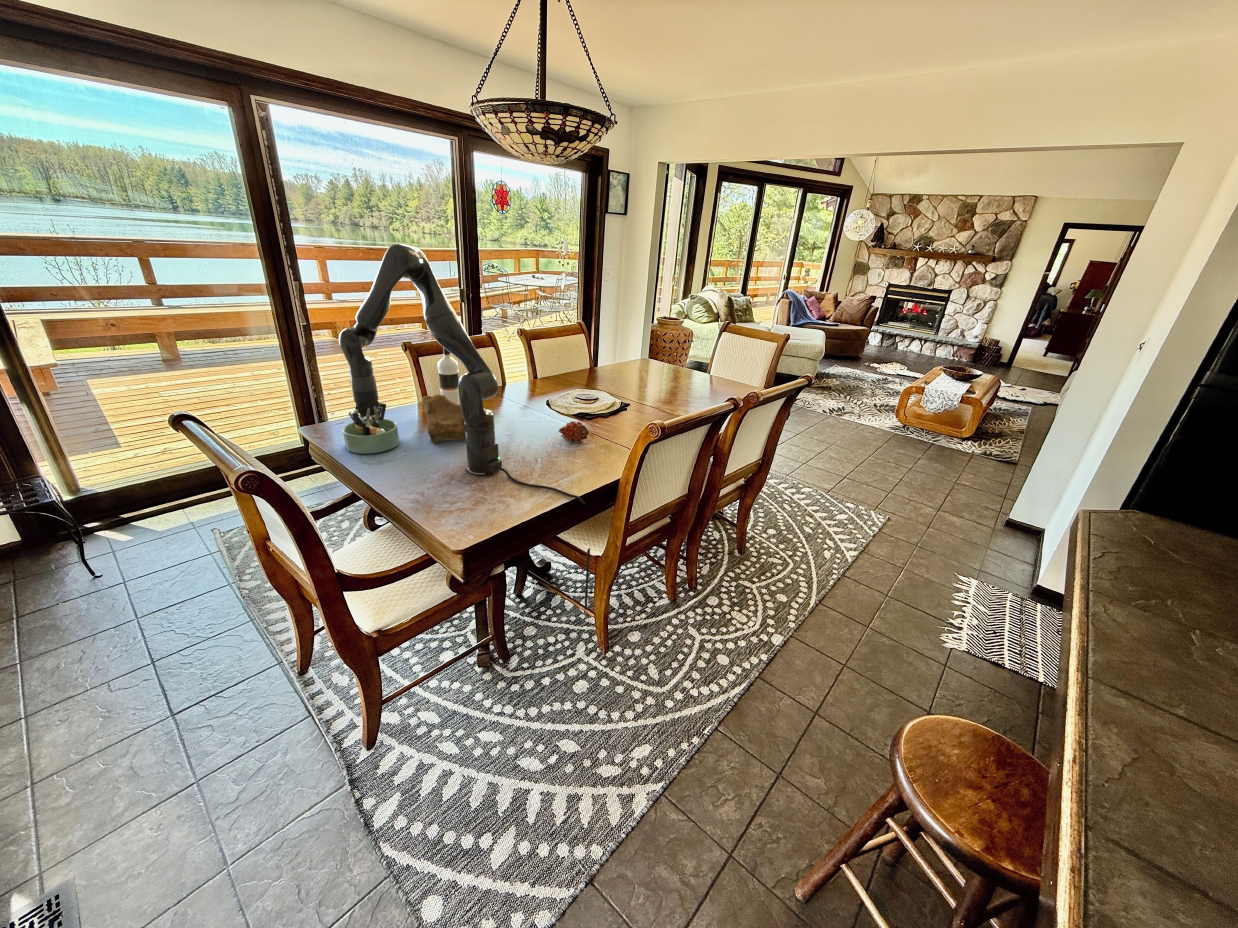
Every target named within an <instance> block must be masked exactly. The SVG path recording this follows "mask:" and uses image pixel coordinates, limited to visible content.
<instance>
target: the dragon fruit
mask: <svg viewBox="0 0 1238 928" xmlns="http://www.w3.org/2000/svg"><path fill="white" fill-rule="evenodd" d="M558 433H560V434H561V435H560V436H561V437H562V439H564V440H565V439H567V440H568V441H570V443H571V444H572V443H575V441H576V443H580V442H581V441H584V440H586V439H588V435H589V430H588V428H587V426H585V425H584V424H583V423H582V422H581V421H569V422H567V423H566V425H564V426H562V427H561V428H559V429H558Z"/></svg>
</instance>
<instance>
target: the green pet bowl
mask: <svg viewBox="0 0 1238 928" xmlns="http://www.w3.org/2000/svg"><path fill="white" fill-rule="evenodd" d="M369 423H370V426H372V423H373V422H372V420H371V418H370V420H369ZM372 427H373V426H372ZM379 427H380V429H384V430H385V433H382V434H377V435H369V436H365V435H364V434H363V433H361V432H359V431H358V430H357V429H356V424H355V423H354V421H353V422H352V421H351V422H350V423H348V424H346V425H344V427H342V434H343V435H342V436H343V440H344V445H345V448H346V450H347V451H349V452H351V453H354V454H362V455H363V454H365V455H366V454H368V455H369V454H378V453H383V452H386V451H389V450H391V449H394V448H395V447H397V446H398V445H399V444H400V435H399V428H398V424H397V422H396V421H394V420H392V419H389V418H388V419H387V418H384V419H383V420H381V421H380V423H379Z"/></svg>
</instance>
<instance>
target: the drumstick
mask: <svg viewBox="0 0 1238 928" xmlns="http://www.w3.org/2000/svg"><path fill="white" fill-rule="evenodd" d="M369 427H370V434H371V435H377V434H382V433H385V430H384V429H379V428H376V427H372V426H370V423H369ZM356 429H357V430H358V431H359V432H361V433H363V428H362V427H360V426H357V425H356Z"/></svg>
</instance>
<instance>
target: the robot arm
mask: <svg viewBox="0 0 1238 928" xmlns="http://www.w3.org/2000/svg"><path fill="white" fill-rule="evenodd" d="M401 279H408V280H410V281H411V282H412V284H413V286H414V287H415V289H416V290H417V292H418V294H419V296H420V299H421V302H422V313H423V319H424V322H425V324H426V327H427V328H428V329H429V331H430V333H431V335H432V336H433V338H434V340H435V342H437V343H438V345H440V346H441V347H442V348H443V347H444V348H445V349H446V350H447V351H449V352H450V354H452V355H453V356H454V357H456V359H458V360H459V361H460V363H462V365H463V366H464V367H465V369H466V370H467V373H464V374H462V375H461V376H459V381H458V394H459V400H460V408H461V412H462V415H463V417H464V424H465V436H466V441H465V446H466V459H467V472H468V473H469V474H471V475H474V476H486V477H489V476H490V475H492V474H494V473H496V472H497V471H499V470H500V471H502V472H503V473H504V474H505V475H506V476H507V478H509V480H511V481H512V482H513V483H516V484H518V485H521V486H525V487H529V488H536V489H546V490H550V491H553V492H556V493H559V494H562V495H564V496H566V497H569V498H574V499H577V500H578V501H579V502H580V503H581V504H582V505H586V502H585V501H584V500H583V498H582V497H580V496H579V495H577V494H572V493H568V492H566V491H564V490H561V489H558V488H556V487H552V486H549V485H548V486H547V485H542V484H541V485H540V484H533V483H528V482H524V481H521V480H518V479H516V478H514V477H513V476H512V475H510V473H509V471H507V470H506V469H505V468H504V467H503V460H502V459H500V455H499V443H498V442H496V429H495V428H496V427H495V426H496V425H495V414H494V412H493V410H490V409H487V408H485V407H484V401H486V400H489V399H492V398H494V397H496V396H497V394H498V392H499V384H498V380H497V378H496V377H495V374H494V373H493V371H492V370H491V368H490V367H489V366H488V364H487V362H486V361H485V360H484V359H483V357H482V356H481V354H480V353H479V351H478V350H477V348H476V347H475V345H474V343H473V341H472V340H471V339H470V337H469V335H468V333H467V331H466V330H465V328H464V325H463V324H462V322H461V320H460V318H459V317H458V315H457V314H456V312H455V310H454V309H453V307H452V305H451V304H450V301H448V299H447V297H446V295H445V292H444V291H443V289H442V288H441V286H440V284H439V282H438V280H437V277H436V275H435V273H434V271H433V269H432V266H431V264H430V262H429V260H428V258H427V256H426V255H425V254H424V252H423V251H422V250H420V249H419V248H417V247H415V246H410V245H406V244H402V243H394V244H391V245H390V246H389V247H388V248H387V250H386V251H385V253H384V255H383V258H382V260H381V262H380V265H379V269H378V270H377V274H376V275H375V278H374V281H373V284H372V286H371V289H370V291H369V293H368V295H367V296H366V298H365V299H364V301H363V302H362V304H361V306H360V307H359V309H358V311H357V312H356V315H355V321H356V323H355V325H354V326H352V327H347V328H344V329H343V330H341V332H340V333H339V336H338V343H339V347H340V349H341V351H342V354H343V356H344V358H345V359H346V361H347V365H348V370H349V376H350V386H351V392H352V396H353V401H354V403H355V406H354V410H353V411H349V412H348V416H349V417H350V418H351V420H352V421H353V422H354V423H355V424H356V425H357V426H360V427H362V428H363V434H364V435H365V436H369V435H371V434H370V427H369V420H370V419H371V420H372V422H373V423H372V426H373V427H376V428H379V429H380V427H379V423H380V421H381V420H383V419H385V414H386V410H387V404H386V403H384V402H379V393H378V385H377V381H376V377H375V374H374V367H373V362H372V359H371V358H370V357H369V356H368V355H365V354H364V352H363V349H365V348H367V347H369V346H370V345H371V344H372V343H373V342H374V340H375V338H376V335H377V332H378V329H379V327H380V326H381V324H382V323H383V321H384V319H385V318H386V317H387V315H388V313H389V311H390V308H391V298H392V293H393V290H394V289H395V288H394V287H395V286H396V285H397V284H398V283H399V282H400V281H401ZM590 560H591V547H589V548H587V551H586V569H585V570H586V572H585V586H584V587H585V588H584V611H587V610H588V595H589V594H588V593H589V577H590V564H591V563H590V562H591V561H590Z"/></svg>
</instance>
